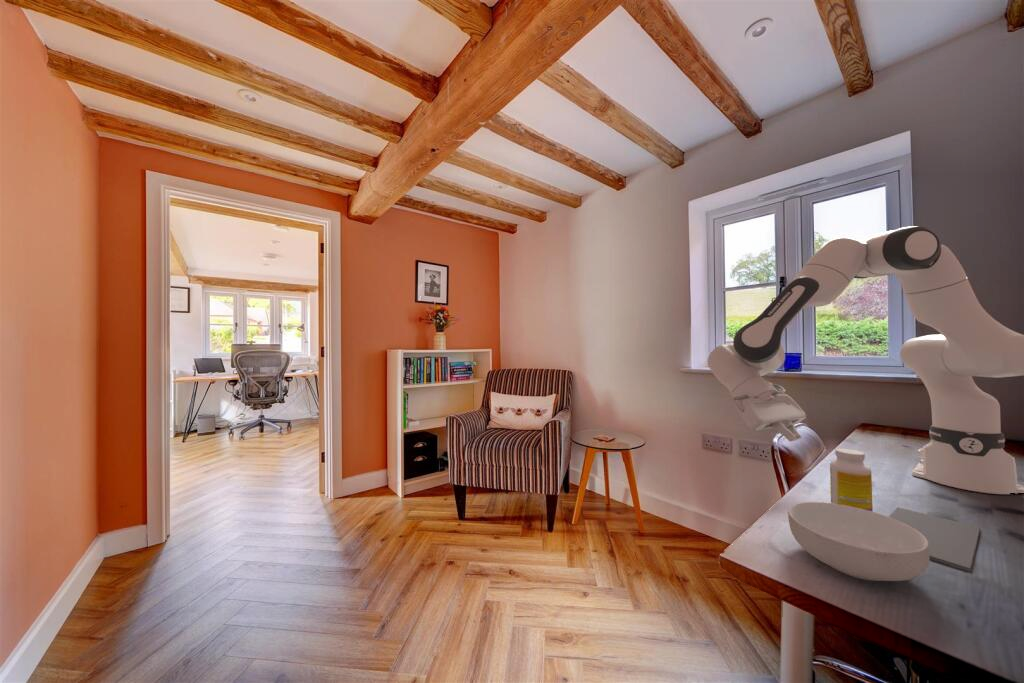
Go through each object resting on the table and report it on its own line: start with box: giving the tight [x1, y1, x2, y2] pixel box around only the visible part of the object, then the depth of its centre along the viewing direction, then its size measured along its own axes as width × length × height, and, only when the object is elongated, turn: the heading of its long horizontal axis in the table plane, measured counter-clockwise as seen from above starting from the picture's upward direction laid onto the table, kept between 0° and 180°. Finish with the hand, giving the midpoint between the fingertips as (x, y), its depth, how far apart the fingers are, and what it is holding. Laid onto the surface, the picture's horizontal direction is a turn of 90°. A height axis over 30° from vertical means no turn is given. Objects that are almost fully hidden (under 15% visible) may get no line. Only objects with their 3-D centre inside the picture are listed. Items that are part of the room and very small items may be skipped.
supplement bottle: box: [829, 448, 874, 512], centre depth 79 cm, size 7×7×13 cm
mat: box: [889, 506, 981, 573], centre depth 68 cm, size 22×11×1 cm, turn 125°
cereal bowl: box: [787, 501, 930, 582], centre depth 59 cm, size 17×17×7 cm
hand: (796, 439), depth 88 cm, fingers closed
